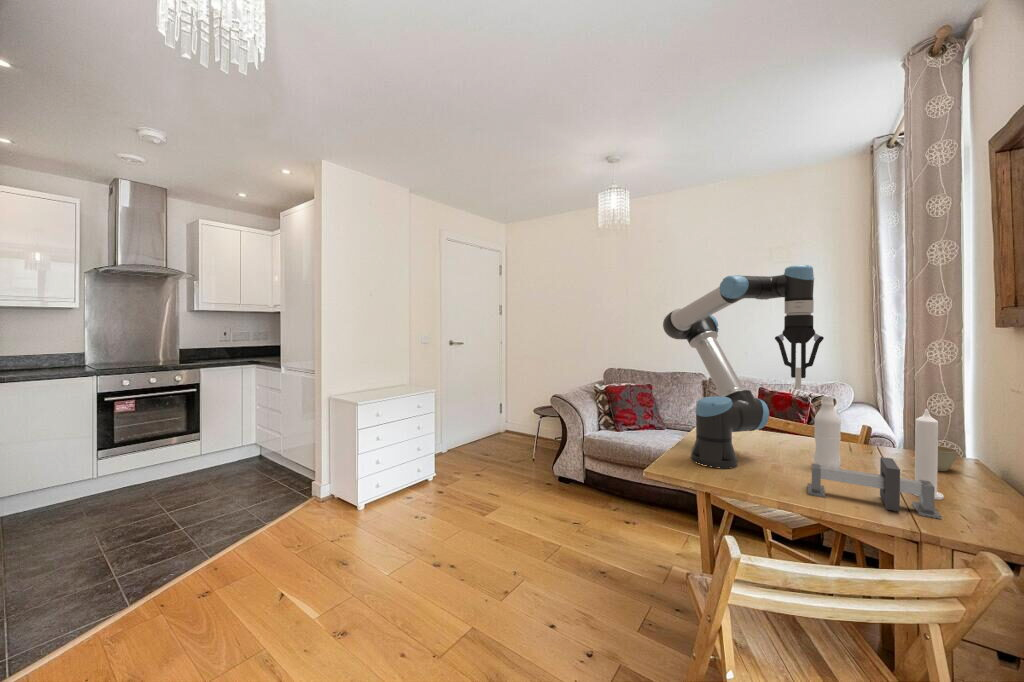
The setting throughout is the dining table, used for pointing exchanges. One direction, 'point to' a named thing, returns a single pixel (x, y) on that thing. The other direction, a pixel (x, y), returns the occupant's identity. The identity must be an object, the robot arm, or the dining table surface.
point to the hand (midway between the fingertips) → (798, 388)
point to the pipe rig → (875, 486)
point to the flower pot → (946, 458)
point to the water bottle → (827, 435)
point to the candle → (927, 451)
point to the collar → (890, 484)
